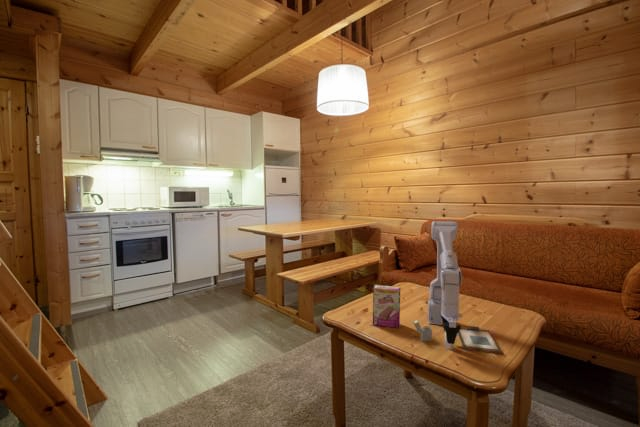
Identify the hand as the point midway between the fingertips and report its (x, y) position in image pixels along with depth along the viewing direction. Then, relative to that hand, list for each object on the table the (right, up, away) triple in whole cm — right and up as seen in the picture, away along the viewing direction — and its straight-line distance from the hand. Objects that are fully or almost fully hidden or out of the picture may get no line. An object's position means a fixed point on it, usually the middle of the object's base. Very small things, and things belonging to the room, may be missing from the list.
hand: (449, 338), depth 108 cm
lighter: (-8, -4, +6) cm, 10 cm away
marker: (0, -4, 0) cm, 4 cm away
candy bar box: (-19, -3, +19) cm, 27 cm away
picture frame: (+13, -3, +5) cm, 14 cm away
